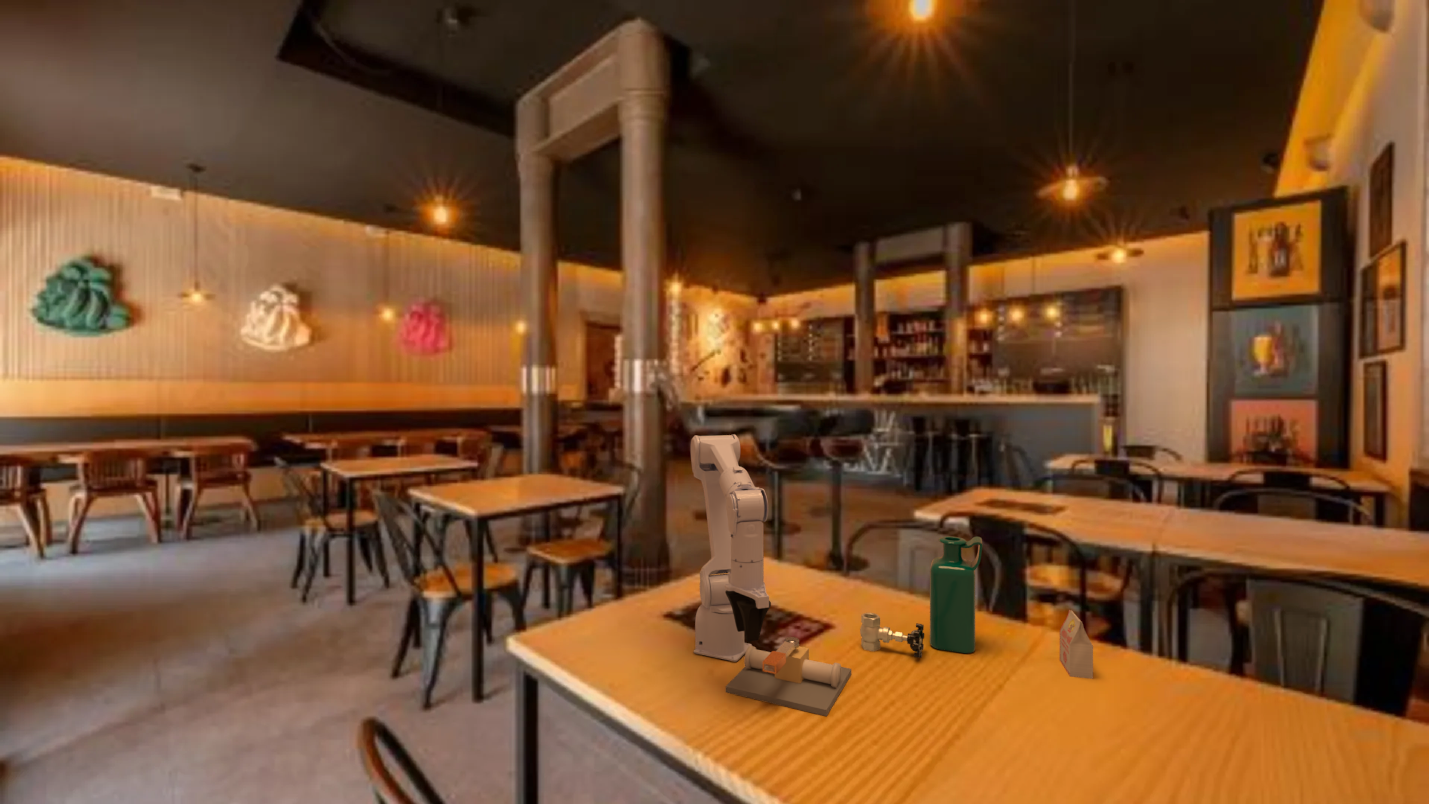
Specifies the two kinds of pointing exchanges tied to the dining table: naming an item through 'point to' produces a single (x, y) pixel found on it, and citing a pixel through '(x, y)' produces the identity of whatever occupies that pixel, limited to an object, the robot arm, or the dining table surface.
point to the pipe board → (791, 681)
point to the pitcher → (953, 596)
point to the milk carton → (1076, 648)
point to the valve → (888, 635)
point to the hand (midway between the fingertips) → (747, 635)
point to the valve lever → (780, 655)
